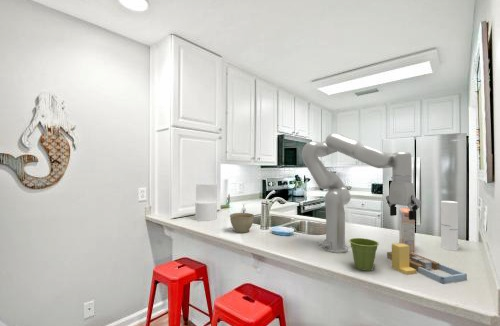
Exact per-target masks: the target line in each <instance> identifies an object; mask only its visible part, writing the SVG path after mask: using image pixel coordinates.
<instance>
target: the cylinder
mask: <svg viewBox="0 0 500 326" xmlns="http://www.w3.org/2000/svg"><path fill="white" fill-rule="evenodd" d="M194 215H195V220H196V221H197V222H213V221H216V220H217V219H218V184H217V183H198V184H197V183H196V184H195V214H194Z"/></svg>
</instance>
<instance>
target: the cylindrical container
mask: <svg viewBox="0 0 500 326" xmlns="http://www.w3.org/2000/svg"><path fill="white" fill-rule="evenodd" d="M440 248H441V249H443V250H447V251H455V252H456V251H458V250H459V202H458V201H453V200H441V201H440Z"/></svg>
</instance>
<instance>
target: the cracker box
mask: <svg viewBox="0 0 500 326" xmlns="http://www.w3.org/2000/svg"><path fill="white" fill-rule="evenodd" d="M409 211H410V209H409V208H407V207H405V208H404V207H403V208H402V207H400V208H399V225H398V226H399V227H398V228H399V231H398V232H399V238H398V241H399V242H398V243H403V244H405V245H408V246H409V252H412V253H414V254H415V252H416V251H415V244H416V242H415V240H416V239H415V237H416V234H415V233H416V231H415V230H416V229H415V228H416V226H415V225H416V223H415V222H416V219H415V220H409Z"/></svg>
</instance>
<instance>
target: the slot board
mask: <svg viewBox="0 0 500 326" xmlns="http://www.w3.org/2000/svg"><path fill="white" fill-rule="evenodd" d="M386 256H387V257H386V258H388V259H389V260H391V261H392V251H387V253H386ZM415 256H417V257H420V258H422V259H423V260H424V259H425V260H427V261H430V262H432V270H428V271H431V272H432V271H438V270H439V264H440V263H439V262H436V261H434V260H432V259H429V258H427V257H425V256H422V255H419V254H417V253H415V252H414V253H412V252H409V267H411V268H414V269H416V270H417V273H418V267H421V268H423V265H421V264H418V263H416V262H414V261H411V257H415ZM439 271H440V270H439Z"/></svg>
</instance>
